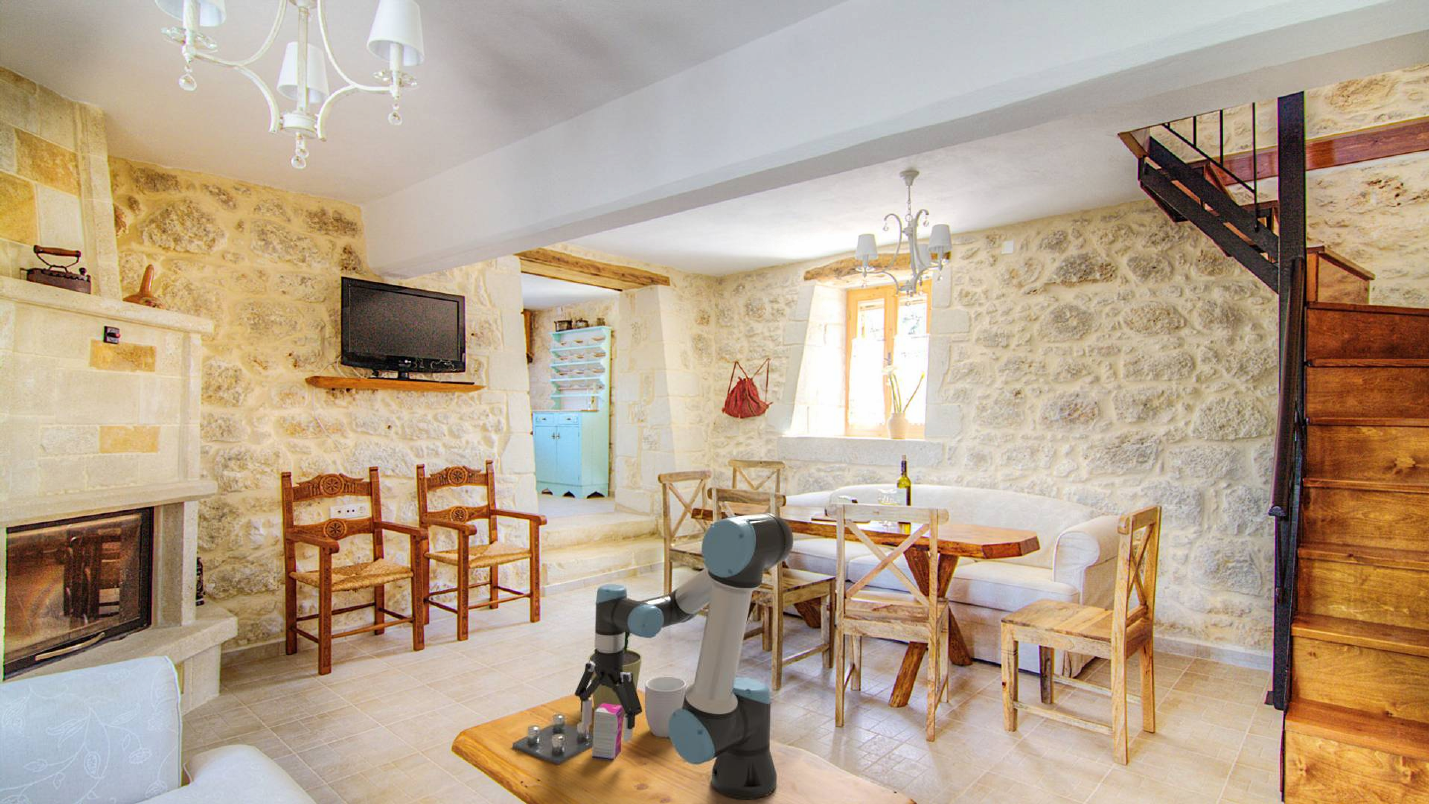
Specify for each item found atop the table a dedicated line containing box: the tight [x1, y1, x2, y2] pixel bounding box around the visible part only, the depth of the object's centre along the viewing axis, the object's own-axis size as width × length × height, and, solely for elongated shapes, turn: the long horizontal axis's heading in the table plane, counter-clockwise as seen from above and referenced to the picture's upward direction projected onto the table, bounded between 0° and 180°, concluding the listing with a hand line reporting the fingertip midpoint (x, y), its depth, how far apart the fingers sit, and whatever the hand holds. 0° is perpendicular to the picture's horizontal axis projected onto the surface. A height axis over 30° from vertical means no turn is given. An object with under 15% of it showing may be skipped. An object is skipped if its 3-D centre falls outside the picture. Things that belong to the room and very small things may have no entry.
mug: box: [644, 675, 687, 739], centre depth 189 cm, size 15×11×13 cm
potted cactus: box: [587, 631, 643, 717], centre depth 203 cm, size 15×15×30 cm
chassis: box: [512, 713, 593, 766], centre depth 181 cm, size 16×16×4 cm
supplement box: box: [591, 703, 623, 762], centre depth 176 cm, size 6×6×12 cm
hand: (606, 733), depth 176 cm, fingers open, 13 cm apart
